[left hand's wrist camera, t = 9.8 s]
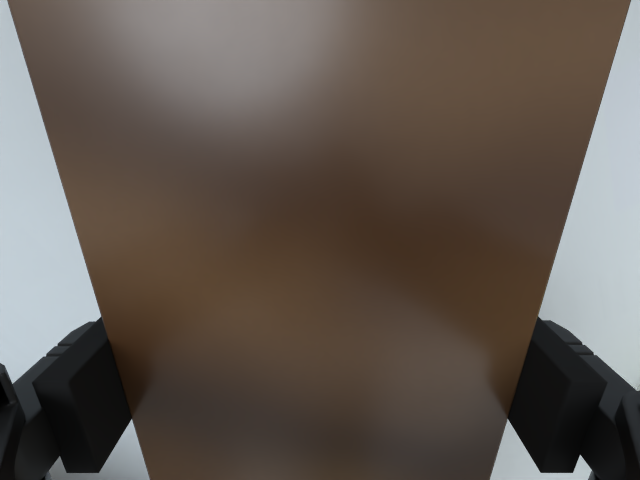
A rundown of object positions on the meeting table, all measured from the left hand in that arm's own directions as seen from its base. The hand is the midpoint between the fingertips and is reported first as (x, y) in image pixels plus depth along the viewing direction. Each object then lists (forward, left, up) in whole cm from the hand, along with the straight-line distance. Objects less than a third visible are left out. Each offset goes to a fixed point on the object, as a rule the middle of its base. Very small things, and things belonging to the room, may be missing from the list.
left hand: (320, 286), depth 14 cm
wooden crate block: (+6, -2, -3) cm, 7 cm away
